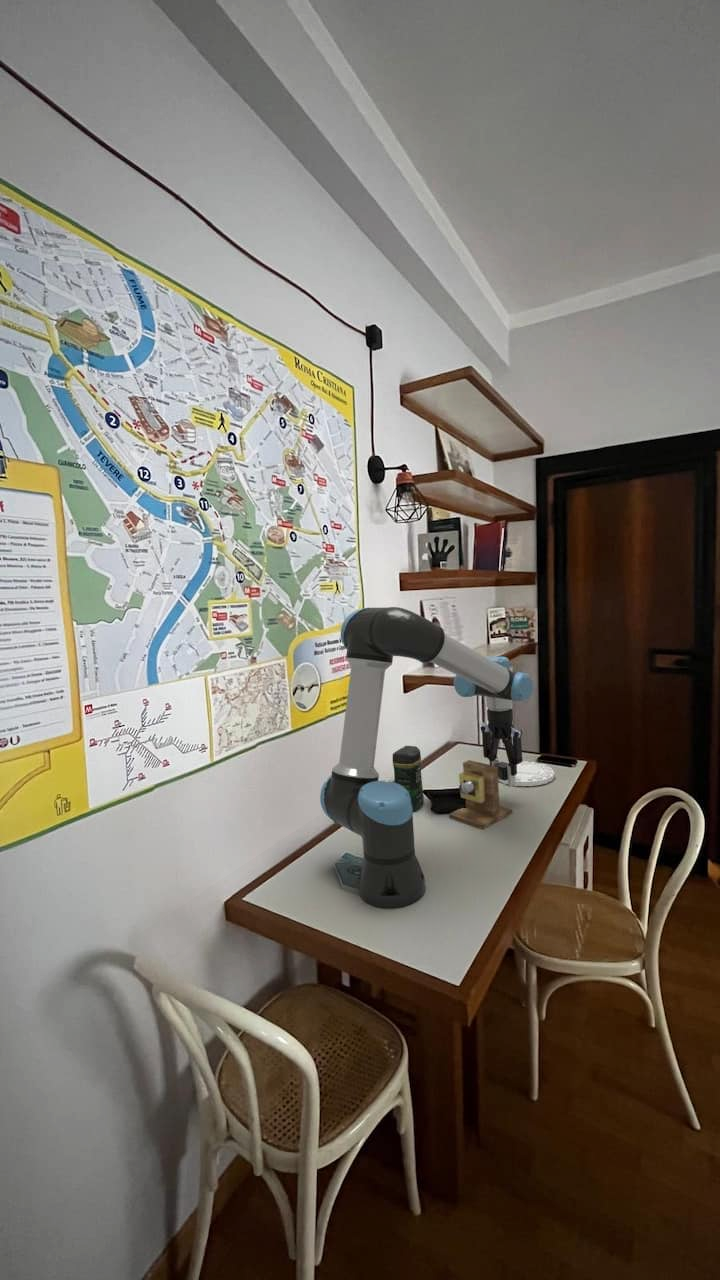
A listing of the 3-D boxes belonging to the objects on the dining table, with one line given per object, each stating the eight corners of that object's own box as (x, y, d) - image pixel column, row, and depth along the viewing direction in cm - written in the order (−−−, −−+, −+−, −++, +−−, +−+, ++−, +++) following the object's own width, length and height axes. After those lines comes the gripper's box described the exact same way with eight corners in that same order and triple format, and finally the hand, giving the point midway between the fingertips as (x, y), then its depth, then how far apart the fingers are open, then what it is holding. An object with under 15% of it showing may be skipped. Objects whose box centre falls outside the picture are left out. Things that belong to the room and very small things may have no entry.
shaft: (469, 797, 150) (468, 784, 150) (458, 794, 153) (457, 781, 153) (513, 776, 164) (512, 764, 163) (502, 774, 167) (501, 761, 166)
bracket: (482, 829, 148) (479, 776, 147) (449, 817, 157) (445, 768, 156) (512, 813, 157) (509, 763, 156) (479, 803, 166) (476, 755, 165)
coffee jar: (416, 813, 162) (411, 753, 160) (392, 810, 166) (387, 752, 164) (427, 801, 170) (423, 744, 169) (404, 799, 174) (400, 743, 173)
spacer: (480, 803, 151) (478, 779, 150) (460, 797, 156) (459, 773, 156) (485, 800, 153) (484, 776, 152) (466, 794, 158) (464, 771, 157)
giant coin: (516, 765, 199) (515, 757, 199) (565, 775, 184) (565, 767, 183) (482, 780, 186) (481, 771, 186) (532, 793, 171) (531, 784, 171)
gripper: (532, 709, 157) (537, 786, 159) (482, 702, 171) (487, 773, 173) (518, 714, 153) (522, 793, 155) (467, 707, 167) (472, 780, 169)
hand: (504, 783), depth 164 cm, fingers open, 5 cm apart
